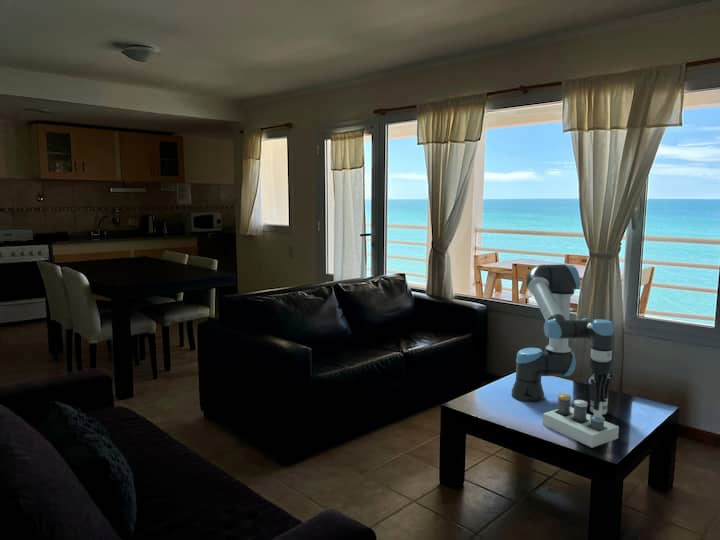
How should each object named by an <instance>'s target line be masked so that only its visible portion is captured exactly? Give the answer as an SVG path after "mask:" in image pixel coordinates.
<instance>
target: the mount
mask: <svg viewBox="0 0 720 540" xmlns="http://www.w3.org/2000/svg"><path fill="white" fill-rule="evenodd" d="M591 415H592V414H590V413H587V414H586V423H578V422H576V421H574V420H573V419H574V407H572V406H570V415H569V416H562V415H559V414H558V408H556V409H554V410H550V411H549V410H548V411H547V412H542V426H545V427H547V428H550V429H551V430H553V431H555V432H558V433H560V434H562V435H563V436H566V437H568V438H571V439H572V440H575V441H577V442H579V443H581V444H583V445H586V446H587V447H589V448H596V447H598V446H601V445H603V444H606V443H609V442H612V441H615V440H617V439H619V431H620V427H619V425H616V424H614V423H611V422H608V421H606V420H605V422H604V430H602V431H596V430H594V429H592V428H590V424H591V420H590V416H591Z"/></svg>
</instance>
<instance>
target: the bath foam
mask: <svg viewBox="0 0 720 540" xmlns="http://www.w3.org/2000/svg"><path fill="white" fill-rule="evenodd" d="M605 400H606V402H603V409H602V416H603V415H606V414H607V413H608V403H609V397H608V398H607V399H605ZM589 411H590V412H591V413H593V414H594V401H592V400H590V405H589Z"/></svg>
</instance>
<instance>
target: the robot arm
mask: <svg viewBox="0 0 720 540" xmlns="http://www.w3.org/2000/svg"><path fill="white" fill-rule="evenodd" d="M580 282H581V279H580V274H579V271H578V269H577V268H576V267H575V265H572V264H562V263H561V264H560V263H559V264H539V265H537V266H535V267H533V268H532V269H531V270H530V271H529V272H528V274H527V276H526V281H525V285H526V288H527V290H528V291H529V293H530V294H532V295H533V297H534V300H535V301H536V303H537V305H538V307H539V310H540V312H541V314H542V315H543V318H544V320H545V322H544V324H543V331H544V335H545V337H546V338H548V339H549V341H548V344H547V345H546V346H545V351H543V350H542V349H541V348H538V347H525V348H522V349H520V350H518V352H517V353H516V359H515V361H516V363H515V364H516V367H515V368H516V369H515V381H514V384H513V387H512V389H511V397H513V398H514V399H515V400H516V399H517V400H518V401H522V402H527V403H528V402H529V403H535V402H536V403H537V402H542V401H544V399H545V391H544V389H543V385H542V377H560V378H561V377H562V378H563V377H568V376H569V377H570V376H571V375H572V374H573V373H574V371H575V369H576V364H577V363H576V362H577V361H576V355H575V354H574V352H572V349H571V347H569V339H588V340H590V341H591V343H590V344H591V345H590V360H589V365H590V366H589V367H590V369H591V370H592V371H591V376H590V377H589V378H586V382H587V384H588V385H587V386H588V393H589V400H590V401H591V400H592V401H594V413H593V415H594V417H597V418H599V419H600V418H602V417H603V415H602V409H603V402H606V400H605V399H607V398H608V399H609V393H610V389H611V382H612V380H613V377H614V376H613V375H612V374H610V371H611V370H612V364H613V363H612V359H613V343H614V332H615V330H614V322H612V321H611V320H607V319H601V318H600V319H599V318H598V319H593V318H590V317H589V318H588V317H584V318H582V319H570V315H571V298H572V296H573V295H575V290H577V289H578V288H579V287H580V284H581V283H580Z"/></svg>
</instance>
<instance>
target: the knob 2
mask: <svg viewBox="0 0 720 540" xmlns="http://www.w3.org/2000/svg"><path fill="white" fill-rule="evenodd" d="M588 405H589V404H588V401H586V400H583V399H574V400H573V408H574V419H573V420H574V421H576V422H578V423H586V414H588V413H587V410H588Z"/></svg>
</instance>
